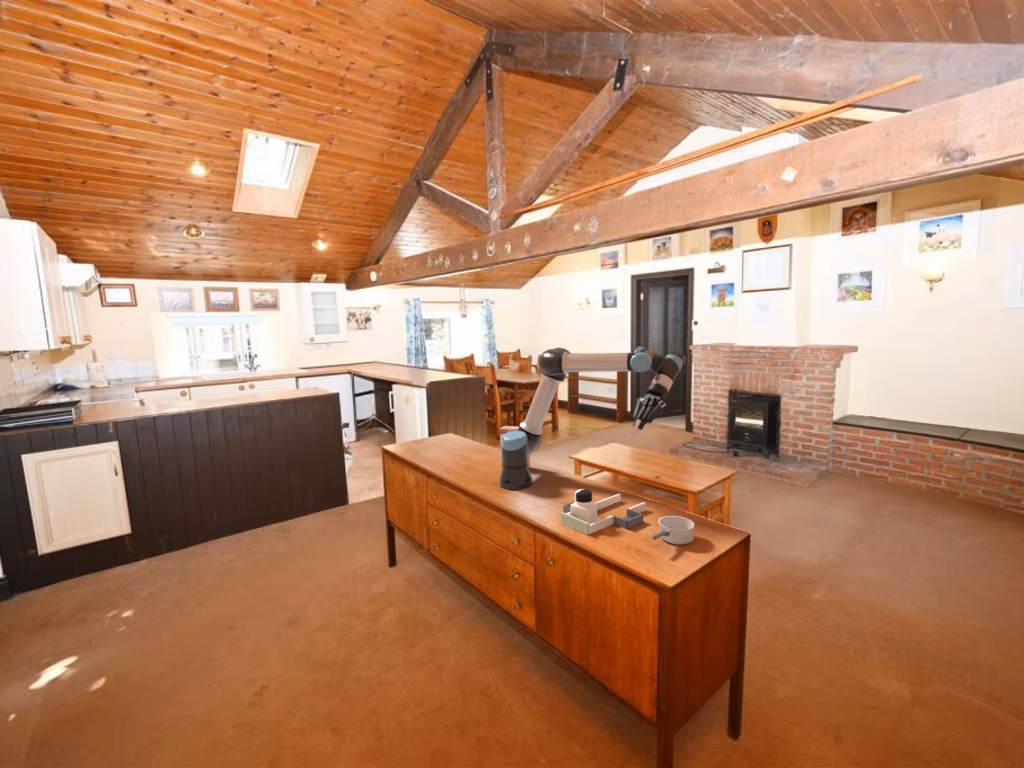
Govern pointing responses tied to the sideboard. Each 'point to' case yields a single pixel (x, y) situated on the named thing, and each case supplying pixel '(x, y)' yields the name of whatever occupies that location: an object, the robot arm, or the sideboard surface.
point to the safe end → (575, 523)
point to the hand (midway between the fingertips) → (633, 435)
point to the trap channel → (626, 522)
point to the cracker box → (505, 430)
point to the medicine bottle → (584, 506)
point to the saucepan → (675, 529)
